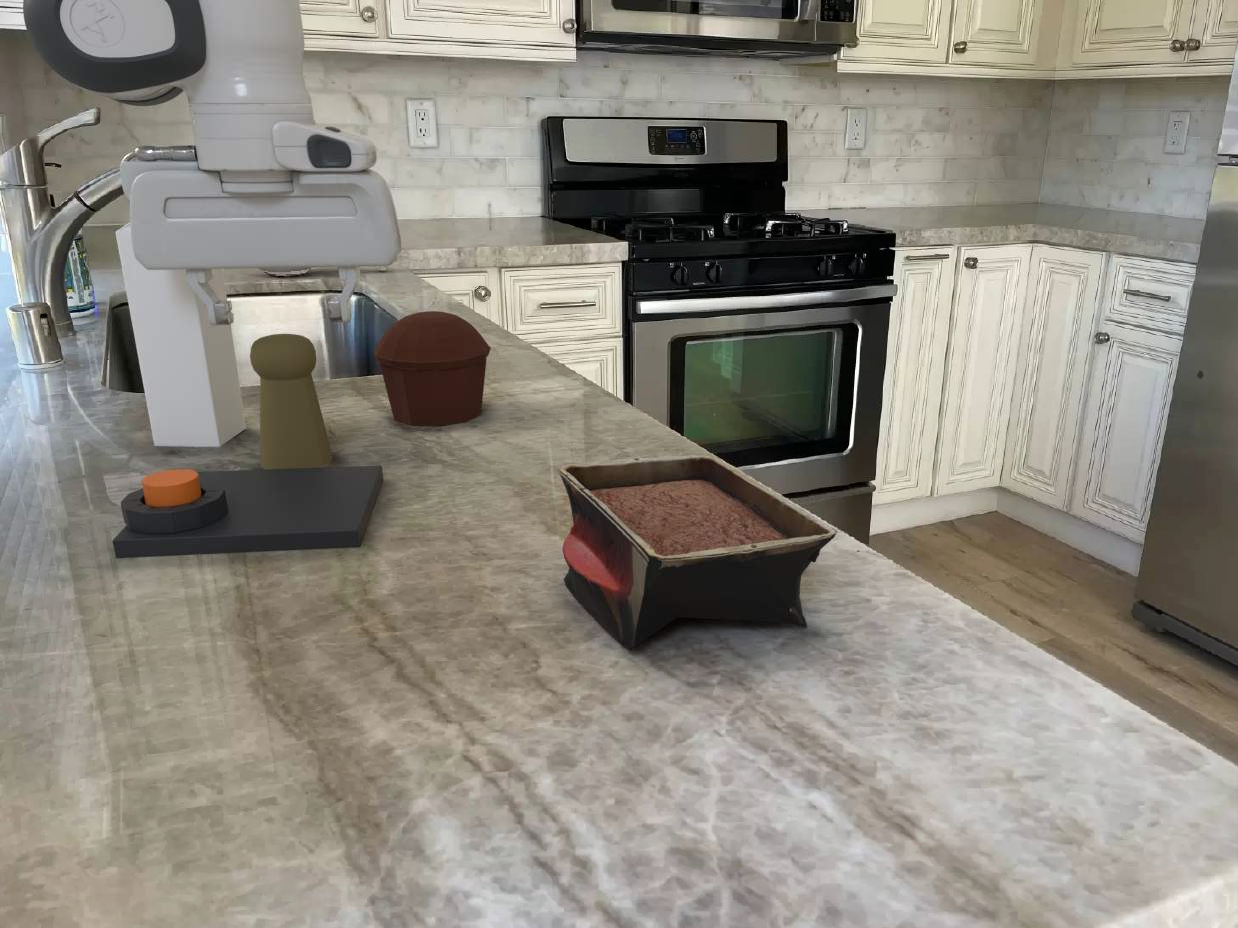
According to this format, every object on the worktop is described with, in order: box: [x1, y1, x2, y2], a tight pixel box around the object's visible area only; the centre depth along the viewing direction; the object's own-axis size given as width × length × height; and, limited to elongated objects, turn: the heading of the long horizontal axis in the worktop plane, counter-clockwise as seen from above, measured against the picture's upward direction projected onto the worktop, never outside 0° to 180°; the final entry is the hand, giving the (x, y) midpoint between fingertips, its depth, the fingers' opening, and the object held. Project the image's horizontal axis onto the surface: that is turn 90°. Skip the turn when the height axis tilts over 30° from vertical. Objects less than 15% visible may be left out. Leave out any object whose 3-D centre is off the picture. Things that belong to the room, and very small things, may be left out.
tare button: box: [141, 468, 202, 507], centre depth 71 cm, size 4×4×2 cm
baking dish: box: [557, 454, 838, 651], centre depth 62 cm, size 14×18×10 cm
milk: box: [115, 222, 247, 448], centre depth 90 cm, size 6×6×22 cm
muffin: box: [372, 310, 492, 427], centre depth 101 cm, size 12×11×10 cm
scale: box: [111, 465, 384, 559], centre depth 76 cm, size 16×14×3 cm
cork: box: [249, 333, 334, 469], centre depth 86 cm, size 6×6×11 cm
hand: (282, 322), depth 84 cm, fingers open, 8 cm apart
